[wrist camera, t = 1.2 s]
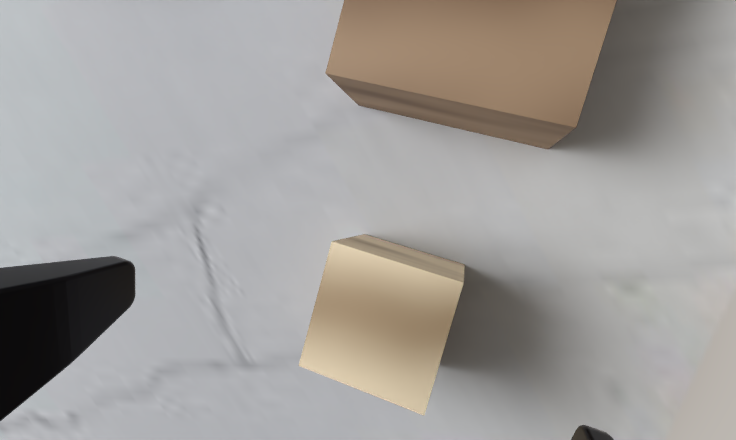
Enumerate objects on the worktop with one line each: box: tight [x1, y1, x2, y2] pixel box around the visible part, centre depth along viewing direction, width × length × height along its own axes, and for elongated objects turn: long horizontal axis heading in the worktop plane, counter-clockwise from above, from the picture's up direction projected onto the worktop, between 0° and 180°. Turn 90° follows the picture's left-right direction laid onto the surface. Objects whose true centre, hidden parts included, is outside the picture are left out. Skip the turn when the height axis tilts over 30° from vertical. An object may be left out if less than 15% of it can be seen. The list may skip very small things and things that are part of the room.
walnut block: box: [326, 0, 617, 149], centre depth 16 cm, size 9×9×5 cm
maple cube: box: [299, 234, 465, 415], centre depth 17 cm, size 5×5×5 cm
